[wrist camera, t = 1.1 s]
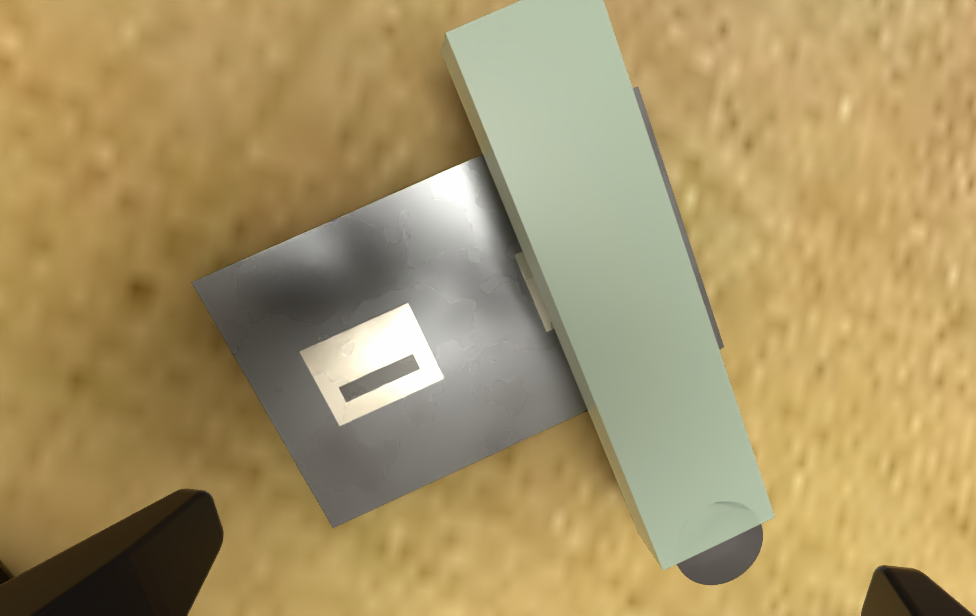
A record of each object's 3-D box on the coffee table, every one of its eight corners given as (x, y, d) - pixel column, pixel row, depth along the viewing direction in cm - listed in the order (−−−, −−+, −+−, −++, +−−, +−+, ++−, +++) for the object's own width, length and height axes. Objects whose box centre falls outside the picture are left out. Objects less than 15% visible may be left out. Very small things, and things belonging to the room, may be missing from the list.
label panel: (394, 622, 23) (392, 675, 20) (198, 279, 19) (166, 292, 16) (752, 453, 23) (792, 484, 21) (631, 89, 19) (662, 75, 17)
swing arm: (751, 519, 20) (787, 553, 19) (652, 566, 20) (677, 606, 18) (570, -4, 16) (593, -31, 14) (441, 51, 16) (445, 32, 14)
